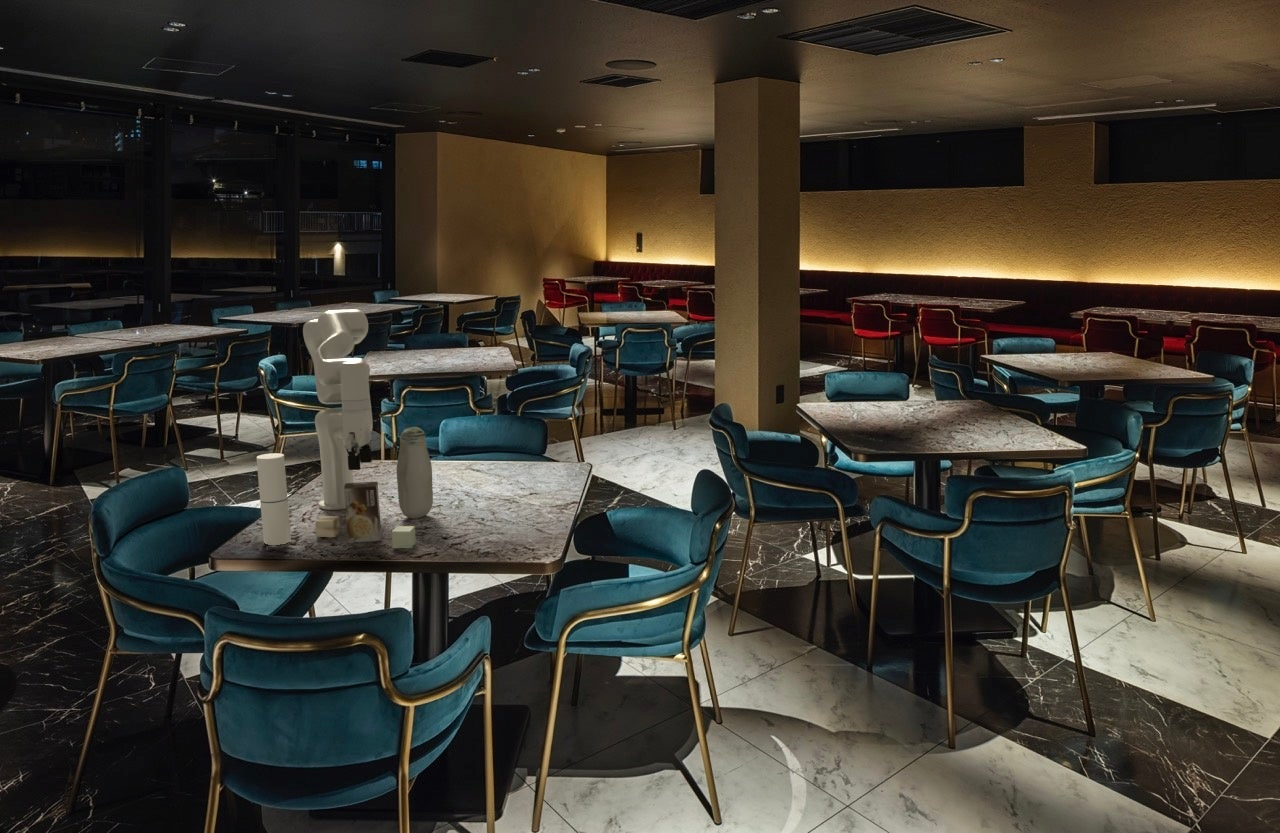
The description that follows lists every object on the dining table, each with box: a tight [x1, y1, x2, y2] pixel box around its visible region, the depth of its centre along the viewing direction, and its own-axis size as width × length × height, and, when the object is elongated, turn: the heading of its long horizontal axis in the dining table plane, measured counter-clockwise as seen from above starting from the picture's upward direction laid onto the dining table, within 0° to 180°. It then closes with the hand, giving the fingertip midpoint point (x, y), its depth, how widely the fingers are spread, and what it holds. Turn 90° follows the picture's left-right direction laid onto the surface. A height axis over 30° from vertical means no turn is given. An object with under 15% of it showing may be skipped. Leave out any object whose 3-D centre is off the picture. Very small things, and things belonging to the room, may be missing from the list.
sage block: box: [391, 525, 417, 549], centre depth 260 cm, size 5×5×5 cm
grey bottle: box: [396, 426, 434, 520], centre depth 286 cm, size 10×10×28 cm
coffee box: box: [344, 481, 383, 544], centre depth 265 cm, size 9×6×16 cm
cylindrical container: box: [256, 452, 292, 545], centre depth 263 cm, size 7×7×25 cm
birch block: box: [315, 515, 341, 538], centre depth 271 cm, size 5×5×5 cm
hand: (360, 465), depth 263 cm, fingers open, 9 cm apart
